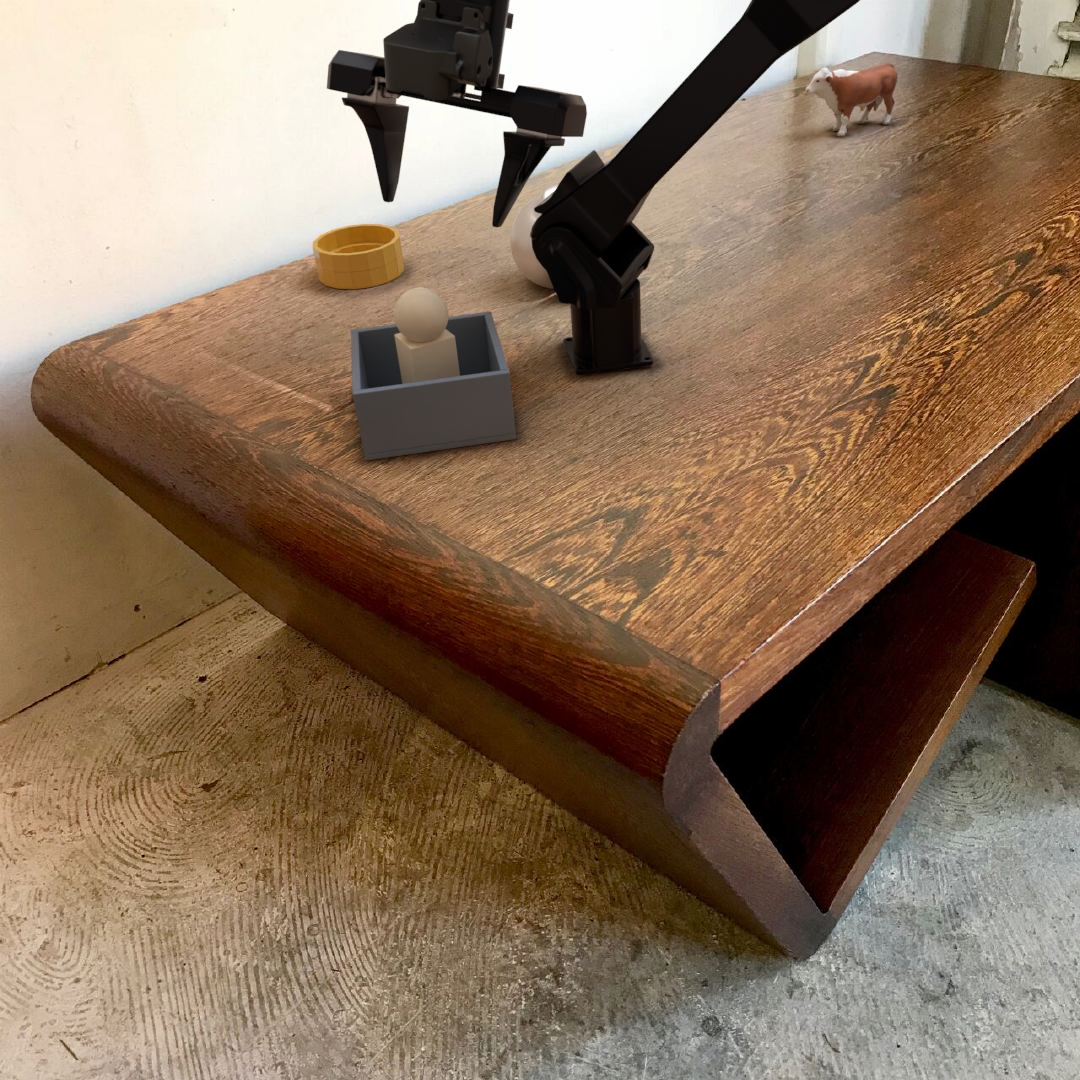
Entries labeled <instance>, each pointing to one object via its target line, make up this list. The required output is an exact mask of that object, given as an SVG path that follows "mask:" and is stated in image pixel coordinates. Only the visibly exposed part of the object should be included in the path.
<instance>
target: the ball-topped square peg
mask: <svg viewBox="0 0 1080 1080" xmlns="http://www.w3.org/2000/svg"><path fill="white" fill-rule="evenodd" d="M447 305H448V304H447V303H446V301H445V300H444V298H443V297H442V296H441V294H439V293H438V292H436V291H435V290H433V289H431V288H428V287H422V286H421V287H414V288H410V289H408V290H406V291H405V292H404V293H403V294H401V296H400V297H399V298H398V299H397V301H396V303H395V306H394V311H393V316H394V317H393V318H394V324H396V326H397V328H398V329H399V331H400V332H401V333H398V334H395V335H394V336H395V342H396V348H397V354H398V360H399V366H400V372H401V378H402V384H406V383H413V382H420V381H428V380H435V379H442V378H449V377H457V376H460V372H459V365H458V357H457V349H456V341H455V336H454V335H453V334H451V333H450V332H449V331H448V330H446V329H445V328H446V326H447V323H448V317H449V309H448V306H447Z"/></svg>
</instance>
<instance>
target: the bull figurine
mask: <svg viewBox="0 0 1080 1080" xmlns="http://www.w3.org/2000/svg"><path fill="white" fill-rule="evenodd" d="M897 83H898V72H897V70H896V68H895V66H894V64H892V63H891V62H886V63H883V64H880V65H879V64H878V65H875V66H871V67H868V68H864V69H860V70H845V69H843V68H839V69H835V70H833V71H830V70H829V68H827V67H824V66H823V67H822V68H820V69H819V70H818V72H816V73H815V74H814V75H813V77H812V80H811V81H810V83H809V84H808V85H807V86H806V87H805V92H806V94H808V95H813V94H814V95H815V96H816V97H818V98H820V99H821V100H822V99H823V100H824V101H825V104H826V105H827V106H828V108H829V109H830V110H831V112H832V113H834V117H835V119H836V122H835V125H834V126H833V128H832V131H834V132H837V133H836V136H837V137H845V135H846V134H847V132H848V130H847V124H848V123H849V121H850V118H851V115H852V113H853V111H854V108H855V107H859V108H860V112H863V113H862V115H861V116H860V117H859V118H858V119H857V121H856V124H858V125H859V124H860V125H861V124H865V121H868V120H869V115H870V112H871V111H872V109H873V111H874V112H876V111H877V110H878V108H879V107H880V106H881V105H882V102H884V105H885V109H886V110H885V115H884V117H883V120H882V122H881V125H885V126H886V125H887V126H888V125H890V123H891V120H892V113H893V108H894V106H895V103H896V101H895V99H894V96H893V95H894V91H895V89H896V86H897Z"/></svg>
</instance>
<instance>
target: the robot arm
mask: <svg viewBox="0 0 1080 1080" xmlns="http://www.w3.org/2000/svg"><path fill="white" fill-rule="evenodd" d="M510 1H511V0H419V2H418V5H417V13H416V16H415V18H414V21H413V22H410V23H406V24H404V25H402V26H400V27H399V28H397V29H396V30H394V31H393V32H391V33H390V34H388V35H386V36H385V37H384V38H383V39H382V43H383V55H384V56H379V55H375V54H370V53H361V52H355V51H348V50H342V49H339V50H337V52H336V53H335V54H334V55H333V56H332V58H331V60H330V62H329V63H328V66H327V67H328V68H327V78H326V89H327V90H331V91H335V92H340V93H344V94H347V95H346V97H341V101H342V104H343V106H346V107H350V108H351V109H353V111H354V113H355V114H356V115H357V117H358V119H359V120H360V121H361V123H362V124H363V127H364V129H365V132H366V136H367V139H368V141H369V145H370V148H371V153H372V156H373V161H374V165H375V169H376V175H377V179H378V183H379V189H380V193H381V197H382V201H383V202H384V203H393V202H394V200H395V197H396V193H397V189H398V185H399V181H400V174H401V168H402V167H401V166H402V161H403V153H404V147H405V139H406V134H407V133H406V132H407V125H408V120H409V111H410V106H408V105H404V104H399V103H397V99H399V98H400V97H407V98H412V99H417V100H422V101H426V102H430V103H431V102H432V103H437V104H441V105H447V106H450V107H451V106H452V107H456V108H460V109H461V108H462V109H465V110H471V111H476V112H481V113H485V114H491V115H495V116H501V117H505V118H509V119H512V121H513V123H514V124H515V126H516V130H515V131H510V130H509V131H507V130H506V131H503V132H502V135H503V136H502V137H503V148H504V149H503V150H504V154H503V155H504V156H503V161H502V166H501V170H500V175H499V179H498V184H497V189H496V194H495V199H494V203H493V204H494V205H493V209H492V210H493V211H492V222H491V225H492V227H493V228H500V227H502V226H503V224H504V222H505V221H506V219H507V217H508V216H509V214H510V213H511V211H512V208H513V207H514V205H515V203H516V201H517V200H518V198H519V196H520V194H521V193H522V191H523V189H524V187H525V185H526V184H527V183H528V180H529V179H530V177H531V176H532V174H533V173H534V171H535V170H536V169H537V167H538V166H539V164H540V163H541V161H542V160H543V159H544V157H545V156H546V154H547V153H548V152H549V151H550V149H551V148H552V147H564V146H565V143H566V139H565V138H583V137H584V134H585V133H584V132H585V128H586V123H587V117H588V116H587V115H588V111H587V104H586V102H585V100H584V98H583V96H582V95H579V94H575V93H570V92H569V93H568V92H563V91H558V90H553V89H547V88H543V87H537V86H529V85H521V84H517V87H516V89H515V90H514V91H511V90H507V89H506V90H505V89H504V84H505V76H506V74H503V73H500V71H501V65H502V58H503V51H504V43H505V38H506V37H505V36H506V31H507V30H512V29H513V23H514V13H511V12H509V9H510ZM860 1H861V0H750V2H749V4H748V5H747V7H746V9H745V11H744V13H743V14H742V15H741V17H740V18H739V20H738V21H737V22H736V23H735V24H734V25H733V26H732V27H731V29H729V31H728V32H727V33H726V34H725V35H724V36H723V37H722V38H721V40H720V41H718V43H717V44H715V46H714V47H713V48H712V49H711V50H710V51H709V53H707V55H706V56H705V57H704V58H703V59H702V60H701V61H700V62H699V64H698V65H697V66H696V67H695V68H694V69H693V70H692V72H690V74H688V76H687V77H686V78H685V79H684V80H683V81H682V82H681V83H680V85H679V86H677V88H676V89H674V90H673V92H672V93H671V95H669V96H668V97H667V99H666V100H665V101H664V102H663V103H662V104H661V105H660V106H659V108H657V110H656V111H655V112H654V113H653V114H652V115H651V116H650V117H649V119H648V120H647V121H645V123H644V124H643V125H642V126H641V127H640V128H639V130H637V132H635V134H634V135H633V136H632V137H631V138H630V139H629V140H628V142H627V143H626V144H625V145H624V146H623V147H622V148H620V150H619V151H618V152H617V153H616V155H615V156H613V157H612V158H610V159H609V160H607V161H606V162H604V161H603V160H602V159H601V157H600V155H599V153H598V152H597V151H596V150H595V149H593V150H592V151H590V152H589V153H588V154H587V155H586V156H585V157H583V158H582V159H581V160H580V161H579V162H577V163H576V164H575V165H574V166H573V167H571V168H570V169H569V170H568V171H567V172H566V173H565V174H564V175H563V177H562V179H561V181H560V182H558V183H559V185H558V187H557V189H556V190H555V191H553V192H552V193H551V194H550V195H549V196H548V197H546V198H545V199H544V200H543V201H542V202H541V203H540V204H538V205H537V206H536V207H535V208H534V211H535V212H537V213H540V214H542V215H541V216H540V217H538V218H537V220H536V221H535V223H534V225H533V226H532V229H531V233H530V237H531V240H532V248H533V251H534V254H535V256H536V259H537V260H538V261H539V263H540V264H541V265H542V267H543V268H544V269H546V271H547V273H548V276H549V278H550V281H551V283H552V285H553V288H554V289H553V290H554V293H555V295H556V298H557V300H558V302H559V303H560V304H566V305H570V321H571V336H570V337H565V338H563V339H562V342H563V347H564V349H565V352H566V354H567V357H568V359H569V361H570V364H571V367H572V369H573V371H574V373H575V375H577V376H586V375H593V374H600V373H609V372H616V371H623V370H630V369H637V368H644V367H645V368H646V367H650V366H652V365H654V357H653V355H652V353H651V352H650V350H649V348H648V346H647V345H646V343H645V341H644V340H643V338H642V310H641V309H642V305H641V299H642V298H641V281H640V280H639V277H640V276H641V274H642V272H644V271H646V270H647V268H649V265H650V263H651V260H652V256H653V254H654V251H655V245H654V243H653V242H652V241H651V240H650V239H649V238H648V237H647V236H646V234H644V233H643V232H642V230H641V229H639V227H638V226H637V225H636V224H635V223H634V220H635V218H636V217H637V215H638V214H639V212H640V211H641V209H642V207H643V205H645V202H646V201H647V199H648V198H649V195H650V193H651V192H652V190H653V189H654V187H655V186H656V185H657V184H658V183H659V181H661V180H662V179H663V178H664V176H665V175H667V174H668V173H669V171H670V170H671V169H672V168H673V167H674V166H675V165H676V164H677V163H678V162H680V160H681V159H682V158H683V157H684V156H685V155H686V154H687V153H688V152H689V151H690V150H691V149H692V148H693V147H694V145H696V144H697V142H699V141H700V140H701V139H702V137H704V135H706V133H707V132H708V131H710V130H711V128H712V127H713V126H714V125H715V124H717V122H718V121H719V120H720V119H721V118H722V117H723V116H724V115H725V114H726V113H727V112H728V111H729V110H730V109H731V108H732V107H733V106H734V105H735V103H736V102H738V101H739V100H740V99H741V97H743V95H745V93H746V92H747V91H748V90H749V89H750V88H751V87H752V86H753V85H754V84H755V83H756V82H757V81H759V79H760V78H761V77H762V76H763V75H764V74H765V73H766V72H767V71H768V70H769V68H770V67H772V65H774V63H775V62H777V60H779V59H780V58H781V57H783V56H784V55H786V54H787V53H788V52H790V51H792V50H793V49H794V48H796V47H798V46H799V45H800V44H802V43H804V42H805V41H807V40H808V39H810V38H811V37H812V36H814V35H816V34H817V33H818V32H820V31H821V30H822V29H824V28H825V27H826V26H828V25H829V24H830V23H832V22H833V21H834V20H836V19H838V18H839V17H840V16H842V15H843V14H844V13H845V12H847V11H848V10H850V9H851V8H853V7H854V6H855V5H857V3H859V2H860ZM467 85H468V86H473V90H474V91H477V92H481V93H480V94H476V93H472V92H467Z"/></svg>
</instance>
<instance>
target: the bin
mask: <svg viewBox="0 0 1080 1080" xmlns="http://www.w3.org/2000/svg"><path fill="white" fill-rule="evenodd" d="M445 329H446V330H448V331H449V332H450V333H451V334H453V335H454V336H455V341H456V349H457V357H458V365H459V372H460V376H457V377H449V378H442V379H435V380H428V381H420V382H413V383H406V384H402V378H401V372H400V366H399V360H398V354H397V348H396V342H395V336H394V335H395V334H398V333H401V332H400V331H399V329H398V328H397V326H396V323H393V324H391V323H390V324H386V325H385V324H384V325H379V326H369V327H362V328H355V329H350V349H351V350H350V351H351V352H350V353H351V380H352V381H351V385H352V387H351V388H352V390H351V391H352V398H353V404H354V409H355V414H356V419H357V424H358V430H359V435H360V439H361V444H362V450H363V454H364V459H365V461H372V460H380V459H386V458H387V459H388V458H394V457H400V456H407V455H414V454H421V453H429V452H436V451H442V450H443V451H444V450H449V449H450V450H451V449H456V448H464V447H470V446H471V447H472V446H478V445H484V444H485V445H486V444H490V443H491V444H492V443H498V442H504V441H505V442H506V441H513V440H517V435H516V434H517V433H516V423H515V414H514V413H515V412H514V403H513V391H512V384H511V382H512V381H511V374H510V370H509V365H508V362H507V359H506V357H505V353H504V350H503V346H502V343H501V340H500V336H499V334H498V331H497V327H496V324H495V320H494V317H493V314H492V311H483V312H476V313H468V314H467V313H466V314H461V315H453V316H448V323H447V326H446V328H445Z"/></svg>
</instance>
